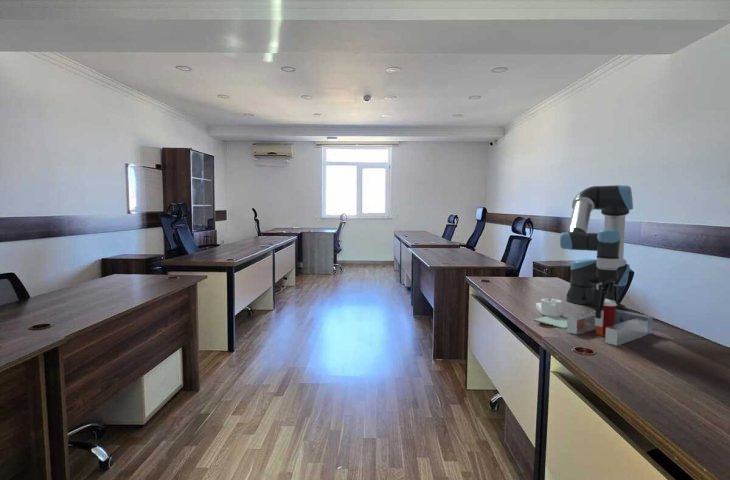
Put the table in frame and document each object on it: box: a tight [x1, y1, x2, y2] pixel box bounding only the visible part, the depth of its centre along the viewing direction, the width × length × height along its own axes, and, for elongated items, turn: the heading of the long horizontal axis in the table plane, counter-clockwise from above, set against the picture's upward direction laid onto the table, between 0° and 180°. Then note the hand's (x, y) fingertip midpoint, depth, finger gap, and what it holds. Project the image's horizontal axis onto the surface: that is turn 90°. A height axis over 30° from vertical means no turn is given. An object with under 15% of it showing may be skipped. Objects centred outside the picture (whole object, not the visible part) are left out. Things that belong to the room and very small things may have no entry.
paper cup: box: [595, 298, 618, 337], centre depth 155 cm, size 8×8×14 cm
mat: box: [533, 315, 567, 330], centre depth 172 cm, size 14×14×1 cm
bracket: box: [535, 298, 562, 317], centre depth 188 cm, size 20×9×7 cm, turn 165°
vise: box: [566, 308, 654, 347], centre depth 159 cm, size 37×19×7 cm, turn 121°
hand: (604, 324), depth 155 cm, fingers closed on paper cup, 8 cm apart
